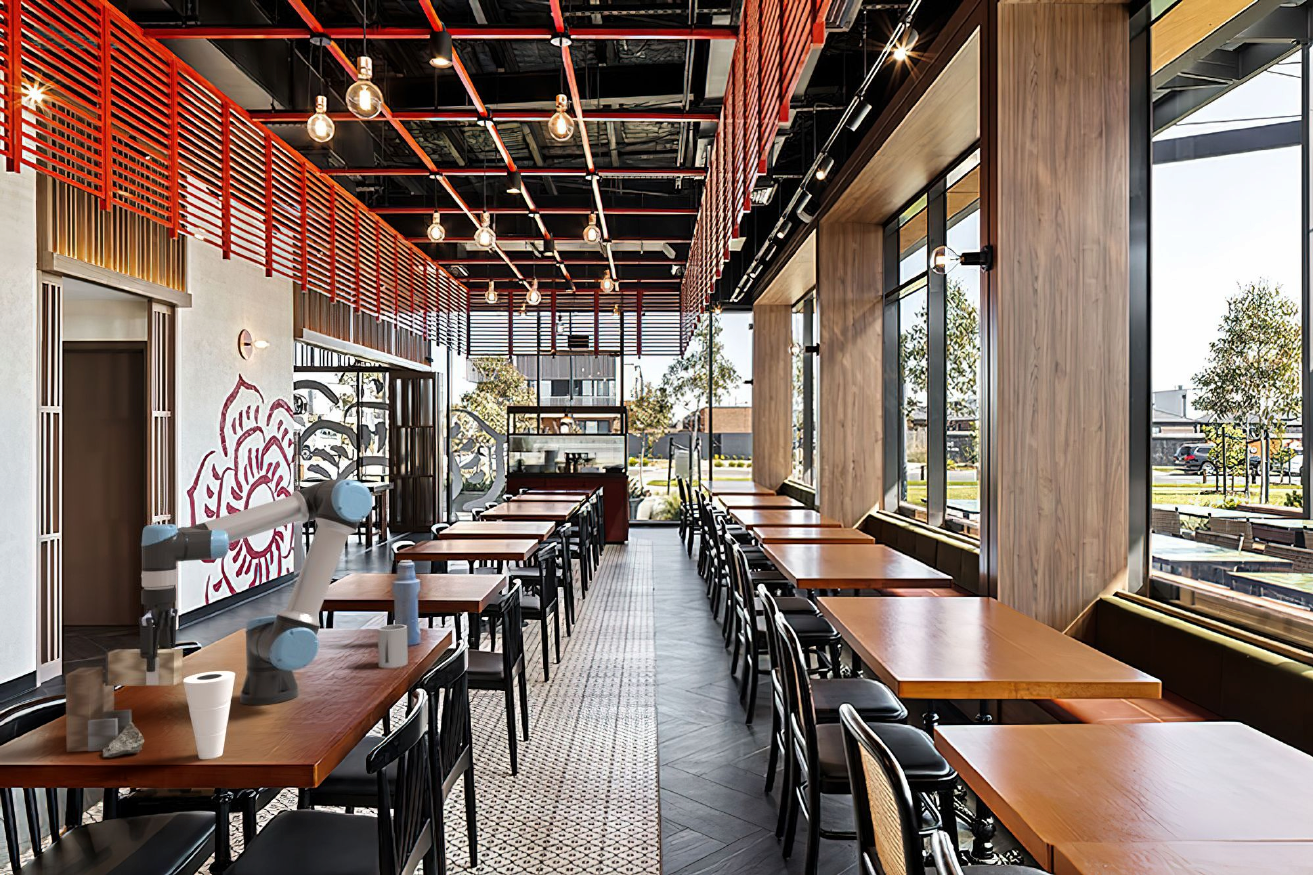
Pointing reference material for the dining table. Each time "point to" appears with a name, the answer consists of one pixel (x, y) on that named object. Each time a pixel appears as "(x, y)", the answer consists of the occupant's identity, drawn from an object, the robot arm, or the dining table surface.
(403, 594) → the bottle
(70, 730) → the post
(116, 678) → the rail
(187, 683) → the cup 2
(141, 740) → the rock sample
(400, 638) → the cup
